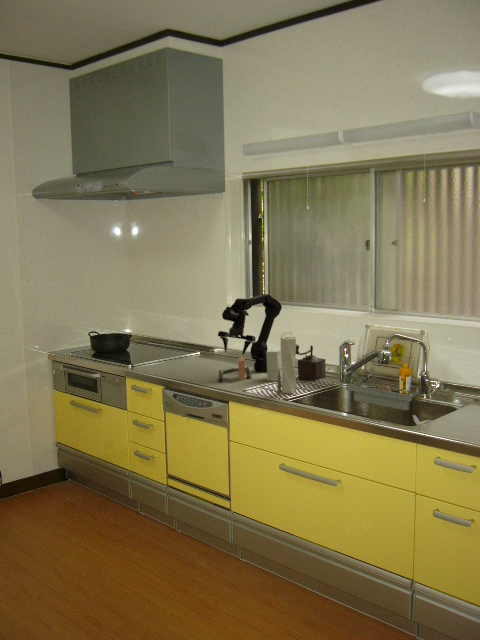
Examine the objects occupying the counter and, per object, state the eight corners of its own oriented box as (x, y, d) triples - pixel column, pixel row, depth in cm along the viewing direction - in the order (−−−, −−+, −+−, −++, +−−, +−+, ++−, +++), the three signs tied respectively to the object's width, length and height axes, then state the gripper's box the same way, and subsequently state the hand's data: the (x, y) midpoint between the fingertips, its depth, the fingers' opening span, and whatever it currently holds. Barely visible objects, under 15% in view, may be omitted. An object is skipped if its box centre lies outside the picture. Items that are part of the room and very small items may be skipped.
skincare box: (278, 381, 331) (277, 352, 328) (266, 381, 332) (265, 351, 330) (282, 377, 338) (281, 349, 336) (271, 377, 340) (270, 348, 338)
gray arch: (251, 377, 341) (251, 366, 340) (251, 381, 332) (251, 370, 331) (218, 378, 341) (218, 367, 340) (217, 382, 332) (217, 371, 331)
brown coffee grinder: (308, 374, 345) (307, 340, 342) (326, 376, 338) (325, 341, 335) (290, 380, 333) (289, 344, 331) (308, 382, 326) (307, 346, 323)
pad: (223, 377, 342) (223, 377, 342) (238, 381, 334) (238, 380, 334) (216, 379, 339) (216, 379, 339) (231, 382, 331) (231, 382, 331)
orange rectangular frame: (244, 376, 343) (244, 357, 342) (244, 380, 335) (244, 360, 334) (238, 377, 343) (238, 357, 342) (238, 380, 335) (238, 361, 334)
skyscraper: (283, 389, 315) (281, 331, 311) (299, 390, 312) (298, 331, 308) (277, 394, 307) (275, 334, 304) (293, 395, 304) (292, 334, 300)
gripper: (217, 319, 334) (212, 349, 333) (253, 324, 330) (248, 355, 329) (223, 321, 345) (218, 350, 344) (257, 326, 340) (253, 356, 339)
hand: (234, 353), depth 339 cm, fingers open, 9 cm apart
